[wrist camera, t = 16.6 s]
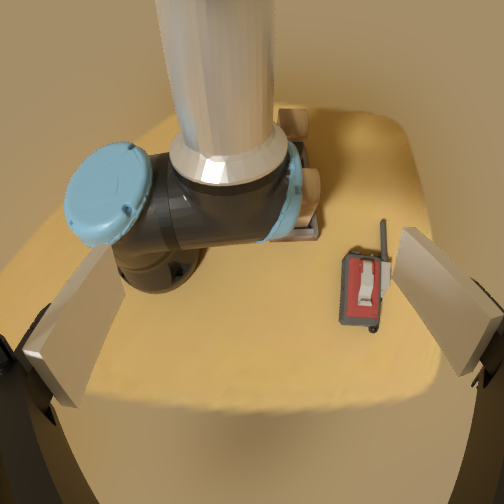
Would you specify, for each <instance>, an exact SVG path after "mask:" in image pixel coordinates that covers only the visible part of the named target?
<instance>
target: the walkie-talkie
mask: <svg viewBox="0 0 504 504" xmlns="http://www.w3.org/2000/svg"><path fill="white" fill-rule="evenodd" d="M380 231H381V256H380V258H378V257H374V255H372V254H371V255H369V256H363V255H361V253H360V252H358V251H351V252H349V254H348V255H346V256H345V257H344V258H343V260H342V273H341V294H340V295H341V297H340V298H341V300H340V307H339V308H340V310H339V311H340V313H339V322H340V323H341V324H342V325H352V326H368V327H369V332H370V333H376V332H377V331H378V328H379V319H380V318H379V316H380V303H381V301H382V298H384V293H385V291H386V290H387V289H388V287H389V286H390V268H391V262H387V252H386V223H385V221H381V222H380ZM372 326H376V328H375V330H374V331H373V330H372Z"/></svg>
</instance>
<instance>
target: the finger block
mask: <svg viewBox="0 0 504 504" xmlns="http://www.w3.org/2000/svg"><path fill="white" fill-rule="evenodd" d="M302 173H303V185H302V187H301V192H302V204H301V210H300V214H299V217H298V220H297V223H296V225H295V227H294V228H293V229H306V228H307V226H308V224H309V222H310V220H311V218H312V216H313V213H314V211H315V209H316V207H317V205H318V203H319V200H320V195H321V181H320V175H319V172H318V170H317V169H316V168H302Z"/></svg>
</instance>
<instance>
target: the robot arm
mask: <svg viewBox="0 0 504 504" xmlns="http://www.w3.org/2000/svg"><path fill="white" fill-rule="evenodd" d="M155 4H156V10H157V16H158V22H159V28H160V33H161V39H162V45H163V50H164V55H165V60H166V65H167V71H168V76H169V81H170V86H171V91H172V96H173V101H174V105H175V110H176V115H177V119H178V124H179V129H180V131H179V132H178V133H177V135H176V136H175V137H174V139H173V140H172V143H171V145H170V150H169V152H167V153H161V154H155V155H149V156H148V154H147V153H146V151H145V150H143V149H142V148H140V147H136V146H135V145H134V144H133V143H129V142H115V143H111V144H108V145H105V146H103V147H101V148H100V149H98V150H96V151H95V152H93V153H92V154H91V155H89V156H88V157H87V158H86V159H85V160H84V161H83V162H82V165H81V166H80V167H79V168H78V169H77V170H76V171H75V173H74V174H73V176H72V178H71V180H70V182H69V184H68V188H67V190H66V194H65V200H64V213H65V218H66V221H67V224H68V226H69V227H70V229H71V230H72V232H73V233H74V234H75V235H76V236H78V237H79V238H80V239H81V241H82V243H83V244H85V245H86V246H89V247H90V248H91V247H92V248H93V249H92V251H91V252H90V253H89V254H88V256H87V257H86V258H85V259H84V261H83V262H82V263H81V264H80V266H79V267H78V268H77V270H76V271H75V272H74V273H73V275H72V276H71V277H70V279H69V280H68V281H67V283H66V284H65V285H64V287H63V288H62V290H61V291H60V292H59V294H58V295H57V297H56V298H55V299H54V301H53V302H52V303H49V304H48V305H47V306H46V307H45V308H44V309H42V310H41V311H40V313H39V314H38V315H37V317H36V318H35V320H34V321H35V322H33V323H32V324H31V326H30V329H28V330H27V332H26V333H25V335H24V337H23V338H22V340H21V341H20V343H19V344H18V346H17V348H16V349H15V351H14V352H13V350H12V349H11V347H10V345H9V344H8V342H7V341H6V339H5V337H4V336H3V335H1V334H0V504H99V502H98V501H97V499H96V497H95V496H94V494H93V492H92V490H91V488H90V487H89V485H88V483H87V481H86V479H85V477H84V476H83V473H82V472H81V470H80V468H79V466H78V463H77V462H76V459H75V457H74V455H73V453H72V451H71V449H70V446H69V444H68V442H67V439H66V437H65V435H64V432H63V430H62V427H61V425H60V422H59V420H58V417H57V414H56V411H55V409H54V407H53V406H52V404H51V403H50V401H51V399H52V397H53V396H54V397H55V398H56V399H57V401H58V402H59V403H60V404H61V405H63V406H68V407H73V408H79V405H80V402H81V399H82V396H83V394H84V391H85V388H86V386H87V383H88V380H89V378H90V375H91V373H92V370H93V368H94V365H95V363H96V360H97V358H98V355H99V353H100V350H101V348H102V346H103V343H104V341H105V338H106V336H107V334H108V332H109V329H110V327H111V325H112V322H113V320H114V318H115V316H116V314H117V311H118V309H119V307H120V305H121V303H122V301H123V299H124V296H125V292H124V289H123V285H122V282H121V279H120V276H121V277H122V278H123V279H124V280H125V281H126V282H127V283H128V284H129V285H131V286H132V287H134V288H136V289H138V290H140V291H142V292H145V293H150V294H160V293H166V292H169V291H172V290H174V289H176V288H178V287H179V286H181V285H182V284H183V283H184V282H186V281H187V280H188V279H189V277H190V276H191V275H192V273H193V272H194V270H195V268H196V266H197V264H198V261H199V258H200V252H201V248H206V247H217V246H227V245H237V244H248V243H263V242H265V241H267V240H273V239H279V238H283V237H285V236H287V235H288V234H289V233H290V232H291V231H292V230H293V228H294V227H295V225H296V223H297V220H298V217H299V214H300V210H301V204H302V192H301V187H302V185H303V173H302V165H301V160H300V156H299V153H298V151H297V148H296V146H295V145H294V144H293V143H292V142H291V141H288V140H287V137H286V134H285V133H284V131H283V130H282V128H281V127H280V126H279V125H277V124H276V123H275V122H274V121H273V95H274V46H275V0H155ZM119 274H120V275H119ZM392 279H393V280H394V282H395V283H396V284H397V286H398V287H399V288H400V290H401V291H402V292H403V294H404V295H405V297H406V298H407V299H408V301H409V302H410V304H411V305H412V306H413V308H414V309H415V311H416V312H417V314H418V315H419V316H420V318H421V319H422V321H423V322H424V324H425V325H426V327H427V328H428V330H429V331H430V333H431V334H432V336H433V337H434V339H435V340H436V342H437V343H438V345H439V346H440V348H441V350H442V351H443V353H444V354H445V356H446V357H447V359H448V361H449V362H450V364H451V365H452V367H453V369H454V370H455V372H456V374H457V375H458V377H460V376H463V375H466V374H468V373H470V372H473V370H474V368H475V367H476V365H477V364H478V362H479V360H480V361H481V363H482V364H483V367H482V369H481V370H480V372H479V373H478V375H477V376H476V378H475V379H474V381H473V382H472V385H471V387H473V386H474V385H475V384H476V382H477V381H479V382H478V386H477V396H476V403H475V409H474V414H473V419H472V424H471V430H470V433H469V438H468V442H467V446H466V450H465V454H464V457H463V461H462V464H461V467H460V471H459V474H458V477H457V480H456V483H455V486H454V489H453V492H452V494H451V497H450V500H449V502H448V504H504V310H503V309H502V307H501V306H500V305H499V304H498V303H497V302H496V301H495V300H494V299H493V298H492V297H490V294H489V293H488V292H487V291H485V289H484V288H483V287H482V286H481V285H480V284H479V283H478V282H477V281H475V280H474V279H472V278H470V277H469V276H468V275H467V274H466V273H464V271H463V270H462V269H461V268H459V266H457V264H456V263H454V262H453V261H452V260H451V259H450V258H449V257H448V256H447V255H446V254H445V253H444V252H443V251H442V250H441V249H439V248H438V247H437V246H436V245H435V244H434V243H433V242H432V241H431V240H429V239H428V238H427V237H426V236H425V235H424V234H423V233H421V232H420V231H419V230H418V229H417V228H416V227H409V228H402V232H401V238H400V243H399V248H398V253H397V258H396V262H395V267H394V271H393V276H392Z"/></svg>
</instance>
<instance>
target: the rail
mask: <svg viewBox="0 0 504 504" xmlns="http://www.w3.org/2000/svg"><path fill="white" fill-rule="evenodd" d="M277 125H279V126H280V127H281V128H282V130H283V131H284V133H285V134H286V137H287V140H288V141H291V142H292V143H293V144H294V145H295V146H296V148H297V151H298V153H299V156H300V160H301V165H302V168H309V164H308V158H307V152H306V147H305V143H306V140H307V136H308V127H309V123H308V114H307V111H306V109H279V112H278V120H277ZM318 234H319V232H318V224H317V217H316V209H315V211H314V213H313V216H312V218H311V220H310V222H309V224H308V226H307V228H306V229H293V230H292V231H291V232H290V233H289V234H288V235H287V236H285V237H283V238H279V239H273V240H270V242H290V241H316V240H317V239H318V238H319V236H318Z"/></svg>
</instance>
